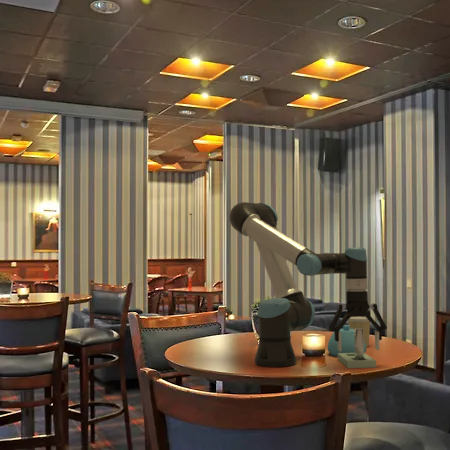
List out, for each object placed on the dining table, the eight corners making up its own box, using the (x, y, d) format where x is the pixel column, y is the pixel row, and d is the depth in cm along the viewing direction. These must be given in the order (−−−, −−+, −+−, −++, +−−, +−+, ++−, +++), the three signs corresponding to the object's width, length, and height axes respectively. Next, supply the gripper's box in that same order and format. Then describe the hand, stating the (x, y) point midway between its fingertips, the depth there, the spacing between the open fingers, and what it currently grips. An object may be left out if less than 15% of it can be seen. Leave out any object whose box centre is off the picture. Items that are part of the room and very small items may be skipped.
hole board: (348, 368, 209) (347, 361, 209) (337, 359, 225) (337, 353, 225) (376, 367, 210) (376, 360, 210) (364, 359, 226) (363, 352, 226)
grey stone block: (356, 366, 212) (355, 329, 212) (354, 365, 215) (353, 328, 215) (365, 366, 212) (364, 329, 212) (362, 364, 215) (361, 328, 215)
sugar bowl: (337, 350, 246) (336, 322, 247) (372, 353, 238) (371, 324, 238) (321, 356, 234) (320, 326, 235) (357, 359, 225) (356, 328, 226)
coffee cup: (375, 346, 254) (374, 317, 254) (360, 348, 249) (359, 319, 249) (359, 343, 262) (358, 316, 262) (343, 345, 256) (343, 317, 257)
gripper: (324, 291, 210) (326, 352, 209) (394, 290, 211) (396, 350, 210) (320, 290, 218) (321, 349, 217) (388, 288, 219) (389, 347, 218)
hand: (358, 350), depth 214 cm, fingers open, 13 cm apart
